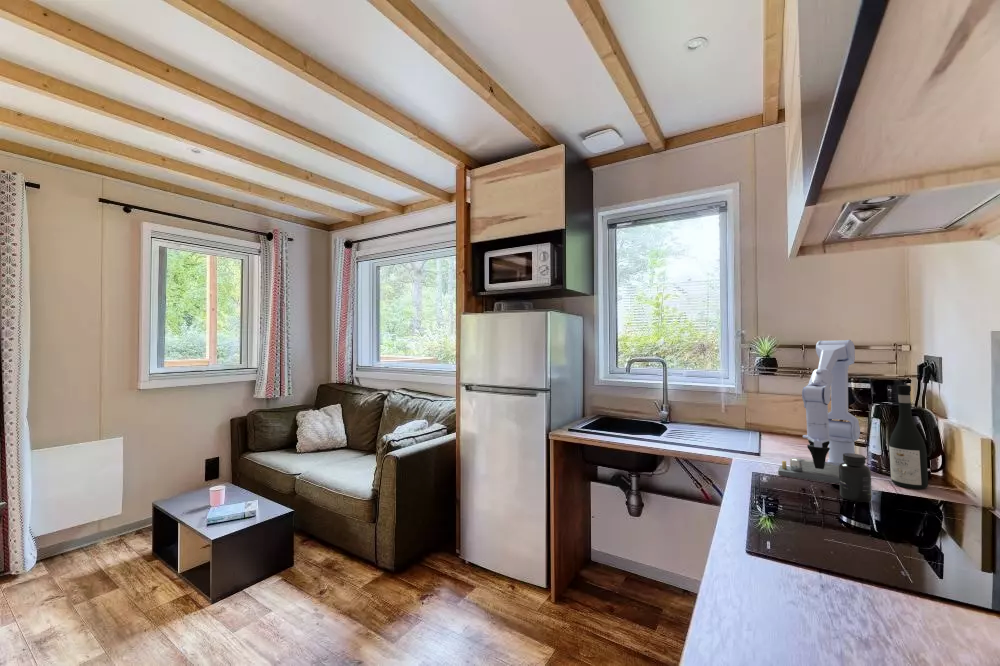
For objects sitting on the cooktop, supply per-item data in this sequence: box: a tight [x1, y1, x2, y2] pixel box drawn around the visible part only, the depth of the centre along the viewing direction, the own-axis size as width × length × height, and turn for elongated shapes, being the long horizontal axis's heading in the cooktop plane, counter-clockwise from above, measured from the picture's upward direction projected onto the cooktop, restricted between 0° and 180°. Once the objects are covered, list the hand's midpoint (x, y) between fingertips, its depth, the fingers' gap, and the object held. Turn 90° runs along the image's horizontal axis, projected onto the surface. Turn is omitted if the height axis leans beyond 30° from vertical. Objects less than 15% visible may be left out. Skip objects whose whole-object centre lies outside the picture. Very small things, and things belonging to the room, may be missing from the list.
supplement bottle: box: [838, 453, 873, 503], centre depth 118 cm, size 7×7×12 cm
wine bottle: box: [888, 384, 929, 490], centre depth 127 cm, size 8×8×30 cm
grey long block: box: [789, 457, 841, 478], centre depth 136 cm, size 5×16×4 cm, turn 53°
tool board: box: [777, 460, 839, 484], centre depth 136 cm, size 7×22×4 cm, turn 52°
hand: (819, 465), depth 136 cm, fingers open, 7 cm apart
